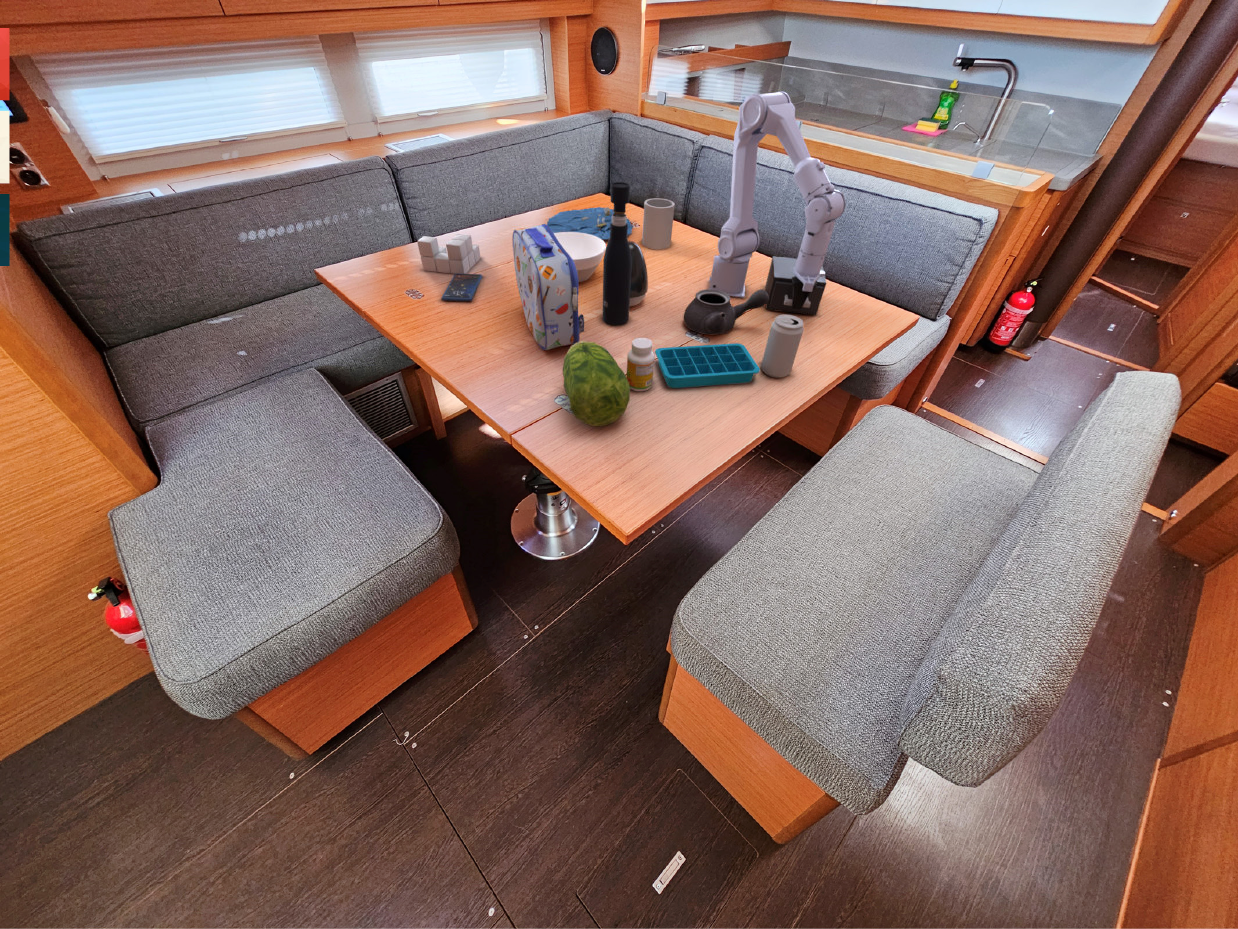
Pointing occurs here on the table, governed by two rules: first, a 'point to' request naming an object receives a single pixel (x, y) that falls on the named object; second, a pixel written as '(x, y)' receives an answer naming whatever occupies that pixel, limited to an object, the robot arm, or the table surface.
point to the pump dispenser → (637, 275)
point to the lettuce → (594, 384)
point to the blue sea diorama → (585, 222)
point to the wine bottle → (617, 261)
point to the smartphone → (462, 287)
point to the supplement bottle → (640, 365)
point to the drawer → (785, 296)
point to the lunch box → (547, 287)
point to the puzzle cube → (449, 254)
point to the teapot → (718, 311)
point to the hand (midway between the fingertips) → (796, 308)
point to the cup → (657, 223)
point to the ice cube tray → (706, 365)
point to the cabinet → (785, 278)
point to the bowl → (583, 251)
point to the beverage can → (782, 345)
